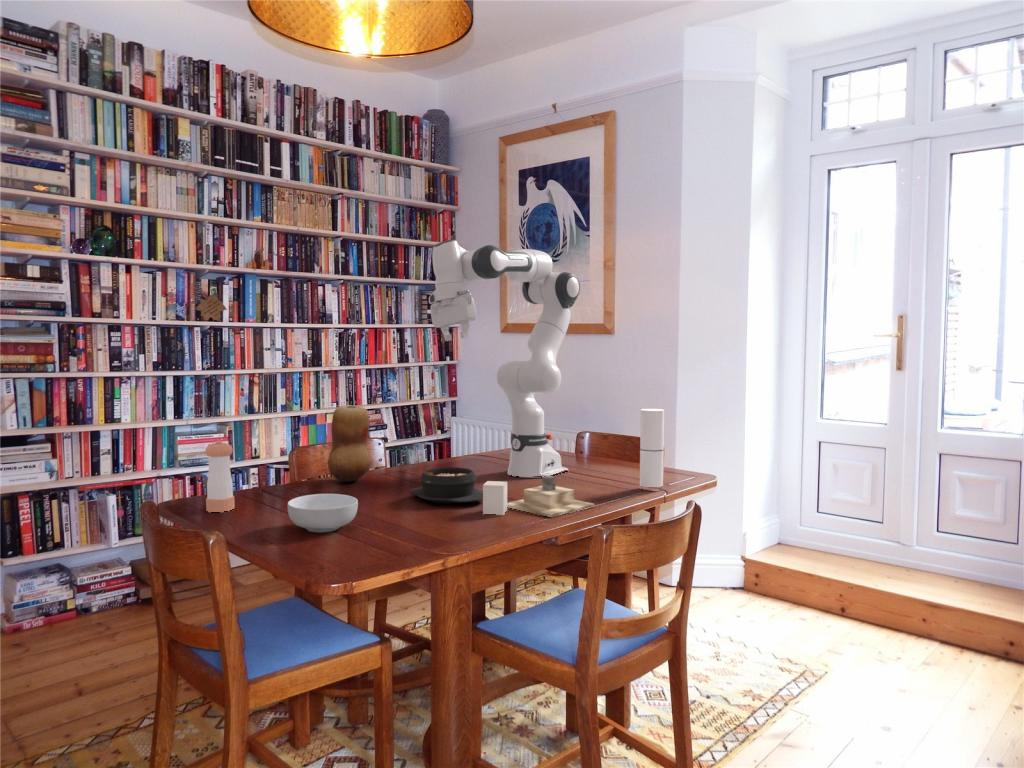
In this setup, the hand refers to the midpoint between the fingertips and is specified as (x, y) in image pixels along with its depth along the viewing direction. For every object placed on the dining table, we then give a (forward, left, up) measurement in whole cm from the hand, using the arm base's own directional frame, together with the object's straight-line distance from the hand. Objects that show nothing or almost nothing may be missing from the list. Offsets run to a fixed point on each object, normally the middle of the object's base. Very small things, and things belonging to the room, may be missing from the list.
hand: (456, 339), depth 227 cm
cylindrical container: (-46, +40, -47) cm, 77 cm away
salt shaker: (+62, -27, -47) cm, 83 cm away
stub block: (-5, +34, -47) cm, 58 cm away
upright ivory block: (+10, +28, -47) cm, 56 cm away
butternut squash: (+16, -36, -47) cm, 61 cm away
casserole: (+9, +7, -47) cm, 49 cm away
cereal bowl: (+52, +10, -47) cm, 71 cm away
